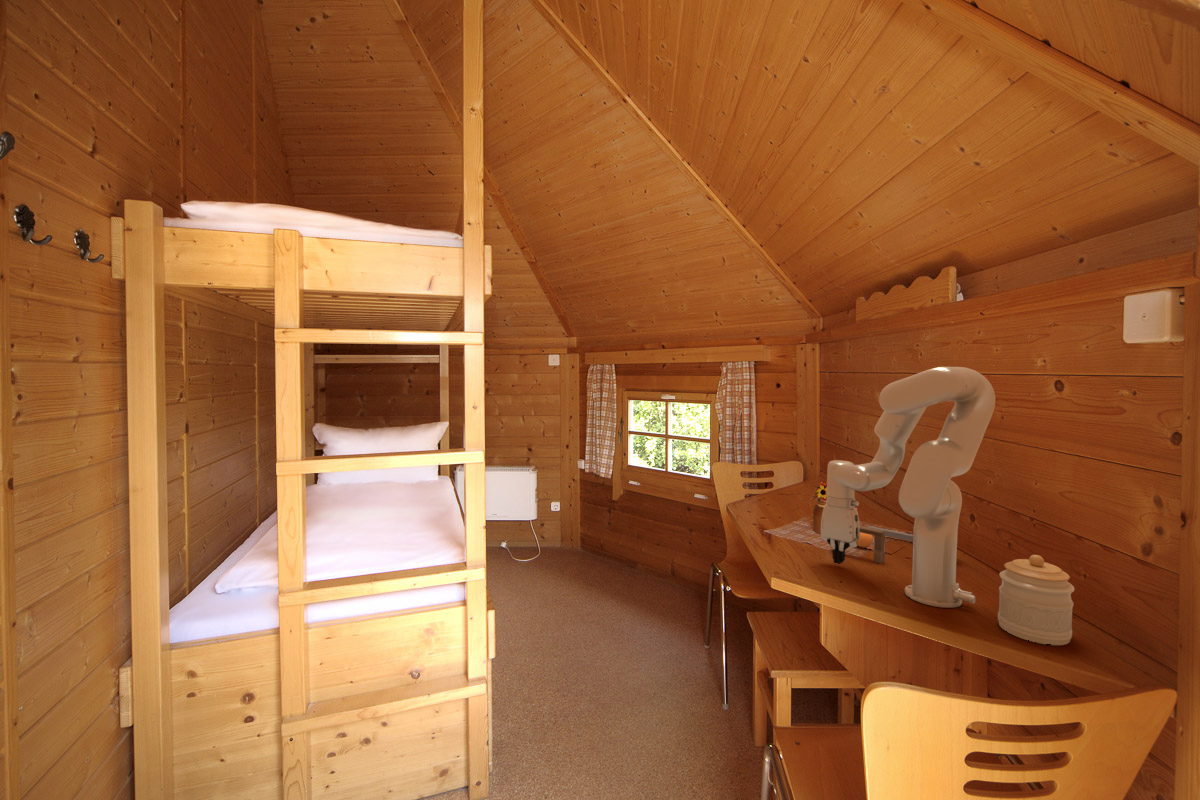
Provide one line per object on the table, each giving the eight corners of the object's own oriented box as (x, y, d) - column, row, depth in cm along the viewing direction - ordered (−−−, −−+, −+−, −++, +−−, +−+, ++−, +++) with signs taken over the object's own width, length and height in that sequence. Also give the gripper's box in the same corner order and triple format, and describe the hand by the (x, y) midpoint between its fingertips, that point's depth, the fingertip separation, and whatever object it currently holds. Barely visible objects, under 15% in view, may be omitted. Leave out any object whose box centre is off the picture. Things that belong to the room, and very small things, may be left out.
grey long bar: (917, 542, 183) (917, 535, 183) (915, 544, 182) (915, 536, 182) (869, 532, 195) (869, 525, 195) (866, 533, 194) (867, 526, 194)
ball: (871, 535, 173) (871, 552, 174) (874, 528, 178) (874, 545, 179) (851, 531, 177) (851, 548, 178) (855, 525, 182) (855, 541, 183)
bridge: (835, 550, 175) (836, 521, 175) (884, 562, 164) (885, 531, 163) (831, 552, 173) (832, 522, 172) (880, 564, 162) (881, 533, 161)
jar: (996, 614, 128) (999, 542, 127) (1067, 629, 120) (1071, 553, 120) (998, 635, 117) (1001, 557, 117) (1076, 653, 110) (1080, 569, 109)
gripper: (871, 504, 155) (869, 566, 156) (821, 496, 166) (819, 553, 167) (861, 508, 150) (859, 572, 151) (810, 499, 161) (808, 559, 162)
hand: (838, 562), depth 159 cm, fingers closed
